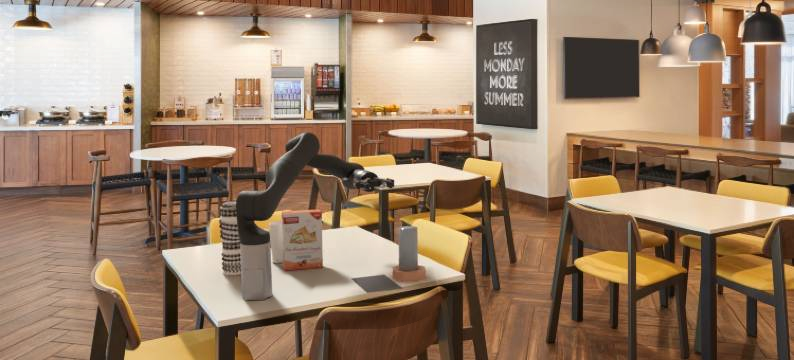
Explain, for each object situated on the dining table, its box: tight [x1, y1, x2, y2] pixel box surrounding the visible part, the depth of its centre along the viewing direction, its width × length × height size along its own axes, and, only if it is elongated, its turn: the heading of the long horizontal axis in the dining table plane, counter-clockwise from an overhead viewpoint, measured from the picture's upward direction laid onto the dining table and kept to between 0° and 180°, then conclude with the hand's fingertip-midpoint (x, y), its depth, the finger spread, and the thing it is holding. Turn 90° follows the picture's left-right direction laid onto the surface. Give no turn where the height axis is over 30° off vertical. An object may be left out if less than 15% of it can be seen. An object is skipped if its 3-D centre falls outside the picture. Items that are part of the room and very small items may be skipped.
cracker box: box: [281, 209, 324, 271], centre depth 244 cm, size 14×6×21 cm, turn 105°
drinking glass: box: [268, 220, 283, 264], centre depth 253 cm, size 7×7×15 cm
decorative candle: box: [218, 201, 241, 276], centre depth 240 cm, size 9×9×25 cm
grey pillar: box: [397, 225, 419, 271], centre depth 228 cm, size 6×6×14 cm
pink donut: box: [392, 264, 427, 283], centre depth 229 cm, size 11×11×4 cm
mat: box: [350, 274, 404, 294], centre depth 222 cm, size 18×12×1 cm, turn 21°
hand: (380, 186), depth 238 cm, fingers open, 8 cm apart
